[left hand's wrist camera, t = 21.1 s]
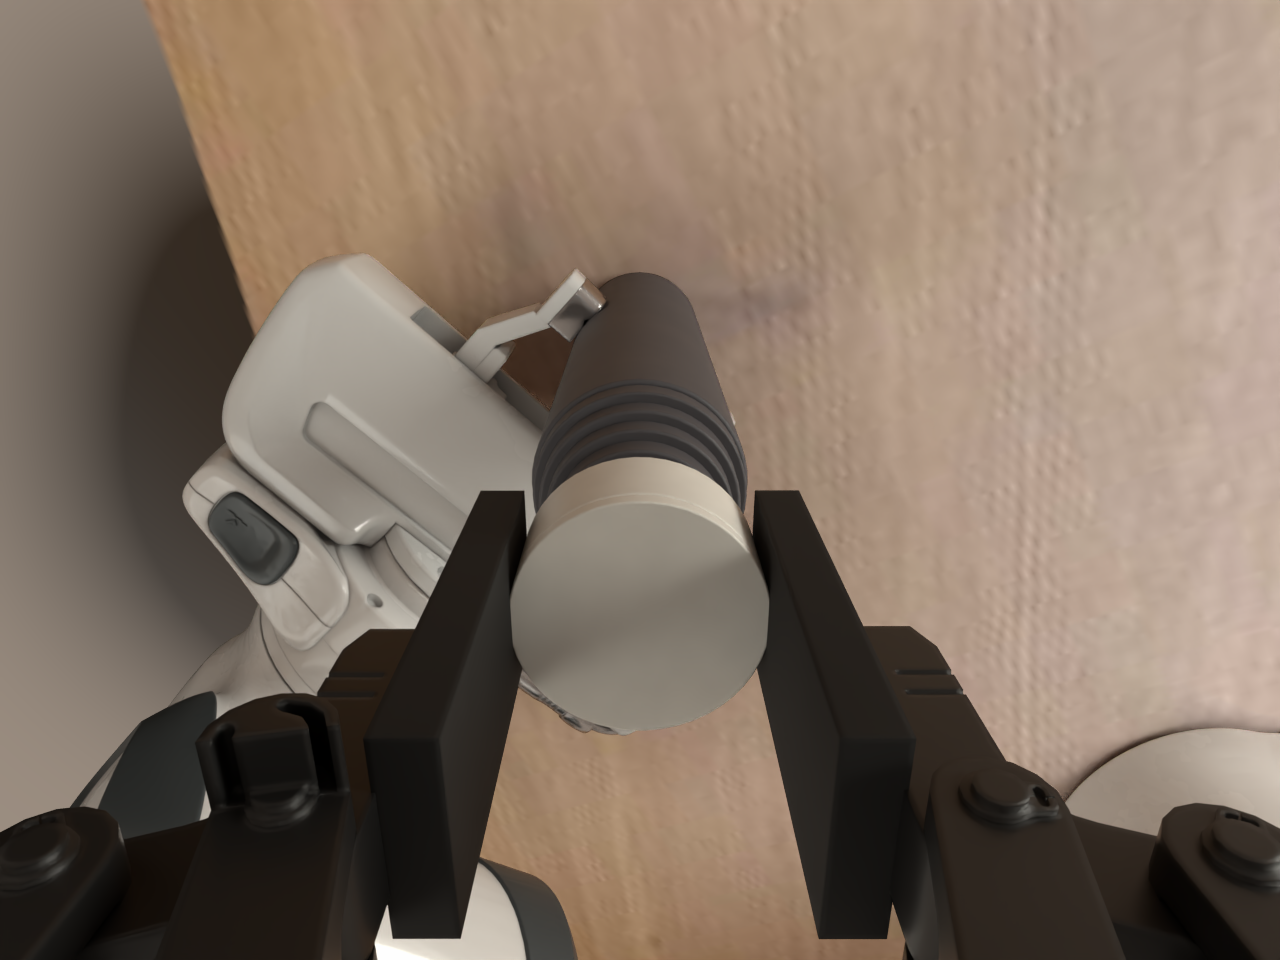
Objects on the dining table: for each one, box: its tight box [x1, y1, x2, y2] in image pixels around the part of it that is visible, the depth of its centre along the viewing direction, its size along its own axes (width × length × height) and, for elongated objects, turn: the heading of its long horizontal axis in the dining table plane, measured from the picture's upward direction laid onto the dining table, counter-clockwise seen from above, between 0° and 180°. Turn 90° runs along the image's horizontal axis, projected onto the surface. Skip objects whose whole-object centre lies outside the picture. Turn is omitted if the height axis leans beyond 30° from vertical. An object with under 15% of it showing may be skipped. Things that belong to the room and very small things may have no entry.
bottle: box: [532, 272, 747, 514], centre depth 24 cm, size 5×5×22 cm
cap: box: [510, 457, 769, 731], centre depth 14 cm, size 4×4×2 cm
